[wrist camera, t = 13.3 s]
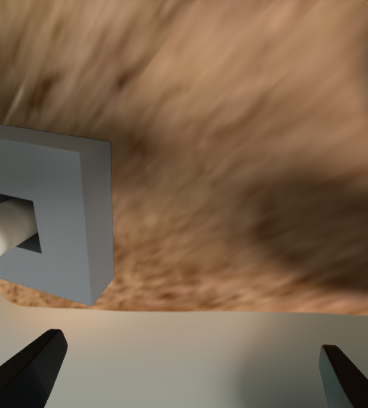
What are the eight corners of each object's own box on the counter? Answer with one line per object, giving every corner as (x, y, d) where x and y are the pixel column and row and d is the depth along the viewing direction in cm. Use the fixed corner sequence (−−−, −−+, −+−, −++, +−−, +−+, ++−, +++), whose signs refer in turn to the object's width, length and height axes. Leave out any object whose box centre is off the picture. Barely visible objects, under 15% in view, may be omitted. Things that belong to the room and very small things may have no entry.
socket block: (110, 142, 21) (79, 152, 17) (114, 277, 27) (91, 306, 23) (-29, 119, 23) (-81, 124, 20) (2, 247, 29) (-33, 268, 26)
